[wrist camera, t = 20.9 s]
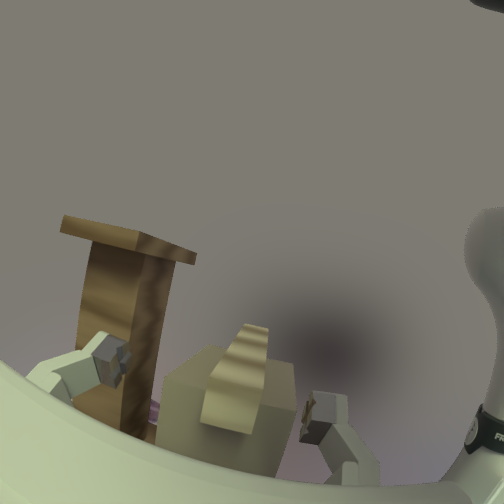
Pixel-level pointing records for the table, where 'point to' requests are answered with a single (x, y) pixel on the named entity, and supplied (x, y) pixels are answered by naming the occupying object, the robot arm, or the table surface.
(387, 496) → the robot arm
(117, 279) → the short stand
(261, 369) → the batten
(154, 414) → the table surface
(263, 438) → the tower top block
